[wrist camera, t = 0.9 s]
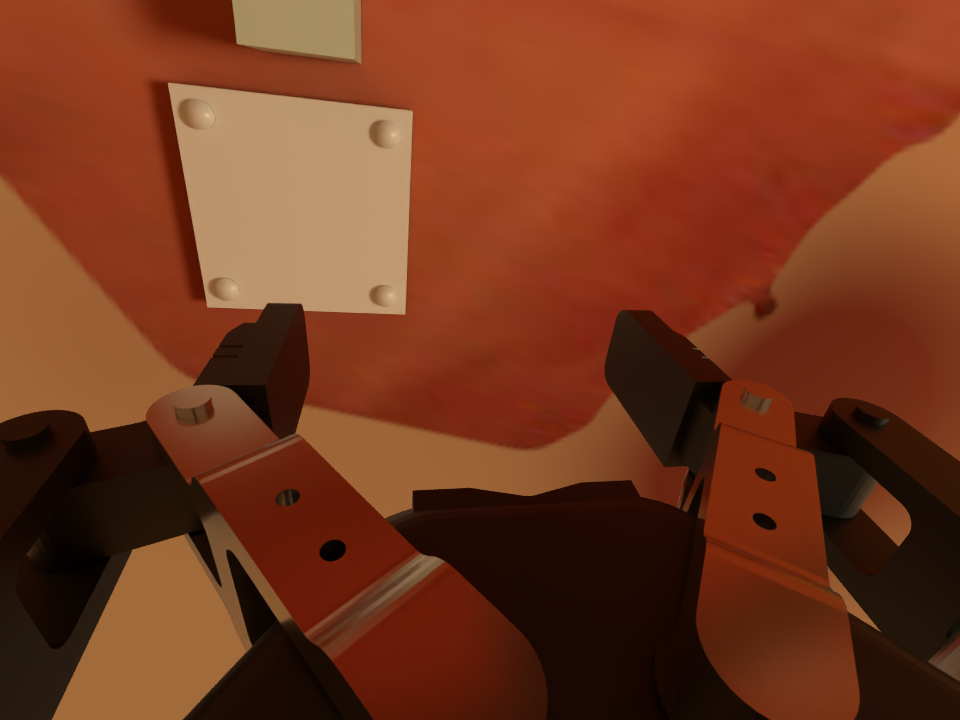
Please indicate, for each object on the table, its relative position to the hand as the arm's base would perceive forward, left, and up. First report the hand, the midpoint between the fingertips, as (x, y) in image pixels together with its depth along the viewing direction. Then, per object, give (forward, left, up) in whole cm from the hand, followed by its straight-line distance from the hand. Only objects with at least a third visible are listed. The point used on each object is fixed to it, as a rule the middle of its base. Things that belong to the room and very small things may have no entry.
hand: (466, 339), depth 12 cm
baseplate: (+3, -8, -25) cm, 26 cm away
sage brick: (-9, -7, -25) cm, 27 cm away
